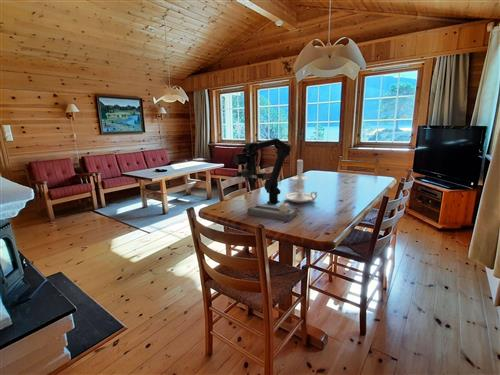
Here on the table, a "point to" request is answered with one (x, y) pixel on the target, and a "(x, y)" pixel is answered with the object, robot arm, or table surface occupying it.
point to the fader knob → (284, 207)
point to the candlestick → (300, 187)
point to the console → (271, 212)
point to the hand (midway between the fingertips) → (252, 188)
